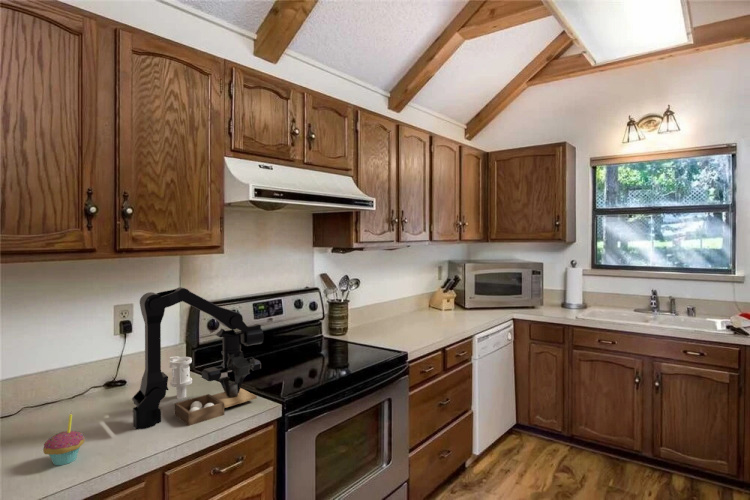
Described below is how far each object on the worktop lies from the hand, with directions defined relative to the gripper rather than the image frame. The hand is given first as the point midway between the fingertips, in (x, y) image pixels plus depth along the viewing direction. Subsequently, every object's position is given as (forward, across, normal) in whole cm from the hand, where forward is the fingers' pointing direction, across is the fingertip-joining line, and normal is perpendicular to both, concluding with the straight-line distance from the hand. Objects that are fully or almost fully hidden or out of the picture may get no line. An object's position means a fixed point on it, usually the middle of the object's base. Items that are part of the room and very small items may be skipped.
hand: (232, 394), depth 146 cm
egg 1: (+3, -12, 0) cm, 12 cm away
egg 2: (+3, -14, -4) cm, 15 cm away
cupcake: (+4, -47, -4) cm, 47 cm away
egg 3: (+3, -10, -4) cm, 11 cm away
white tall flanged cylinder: (+4, -10, +18) cm, 21 cm away
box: (+4, -12, -2) cm, 13 cm away
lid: (+1, 0, 0) cm, 1 cm away
